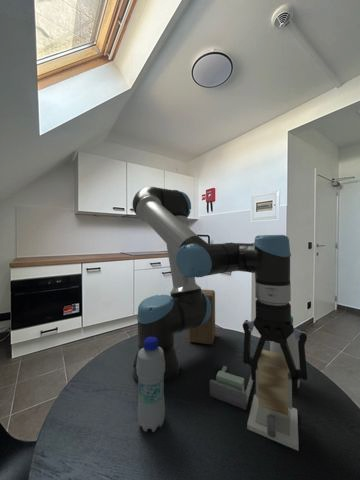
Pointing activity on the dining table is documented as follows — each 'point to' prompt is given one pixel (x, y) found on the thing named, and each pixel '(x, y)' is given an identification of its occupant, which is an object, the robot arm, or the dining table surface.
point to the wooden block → (207, 330)
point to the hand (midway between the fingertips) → (273, 398)
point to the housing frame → (231, 392)
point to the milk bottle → (292, 346)
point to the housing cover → (230, 380)
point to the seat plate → (279, 435)
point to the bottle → (151, 385)
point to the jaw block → (273, 382)
